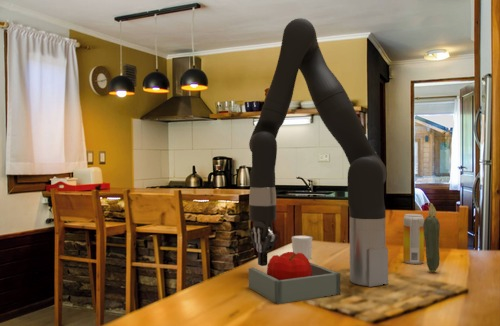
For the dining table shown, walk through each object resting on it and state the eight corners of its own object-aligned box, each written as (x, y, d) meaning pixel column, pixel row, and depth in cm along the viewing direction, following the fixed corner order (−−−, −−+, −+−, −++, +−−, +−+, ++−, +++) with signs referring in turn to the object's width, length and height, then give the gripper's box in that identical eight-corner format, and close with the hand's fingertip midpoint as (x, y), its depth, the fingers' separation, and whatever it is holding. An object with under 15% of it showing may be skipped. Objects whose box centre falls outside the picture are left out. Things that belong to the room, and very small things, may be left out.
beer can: (421, 260, 151) (421, 213, 151) (426, 264, 145) (426, 216, 145) (401, 260, 152) (401, 213, 152) (405, 264, 146) (405, 215, 146)
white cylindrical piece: (313, 260, 152) (313, 238, 152) (292, 260, 152) (292, 238, 152) (311, 255, 159) (311, 235, 159) (290, 255, 159) (290, 235, 159)
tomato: (281, 281, 127) (281, 248, 126) (320, 289, 119) (320, 253, 119) (257, 290, 118) (256, 254, 118) (297, 299, 111) (297, 261, 111)
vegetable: (440, 274, 133) (441, 203, 133) (424, 274, 134) (424, 203, 134) (437, 271, 137) (438, 202, 137) (422, 270, 138) (422, 202, 138)
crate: (340, 294, 115) (340, 273, 114) (277, 304, 107) (277, 282, 107) (306, 279, 128) (306, 261, 128) (248, 287, 121) (248, 267, 121)
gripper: (286, 204, 128) (286, 268, 128) (263, 200, 140) (263, 259, 140) (261, 206, 124) (261, 271, 125) (240, 201, 136) (240, 261, 137)
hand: (262, 265), depth 132 cm, fingers closed
